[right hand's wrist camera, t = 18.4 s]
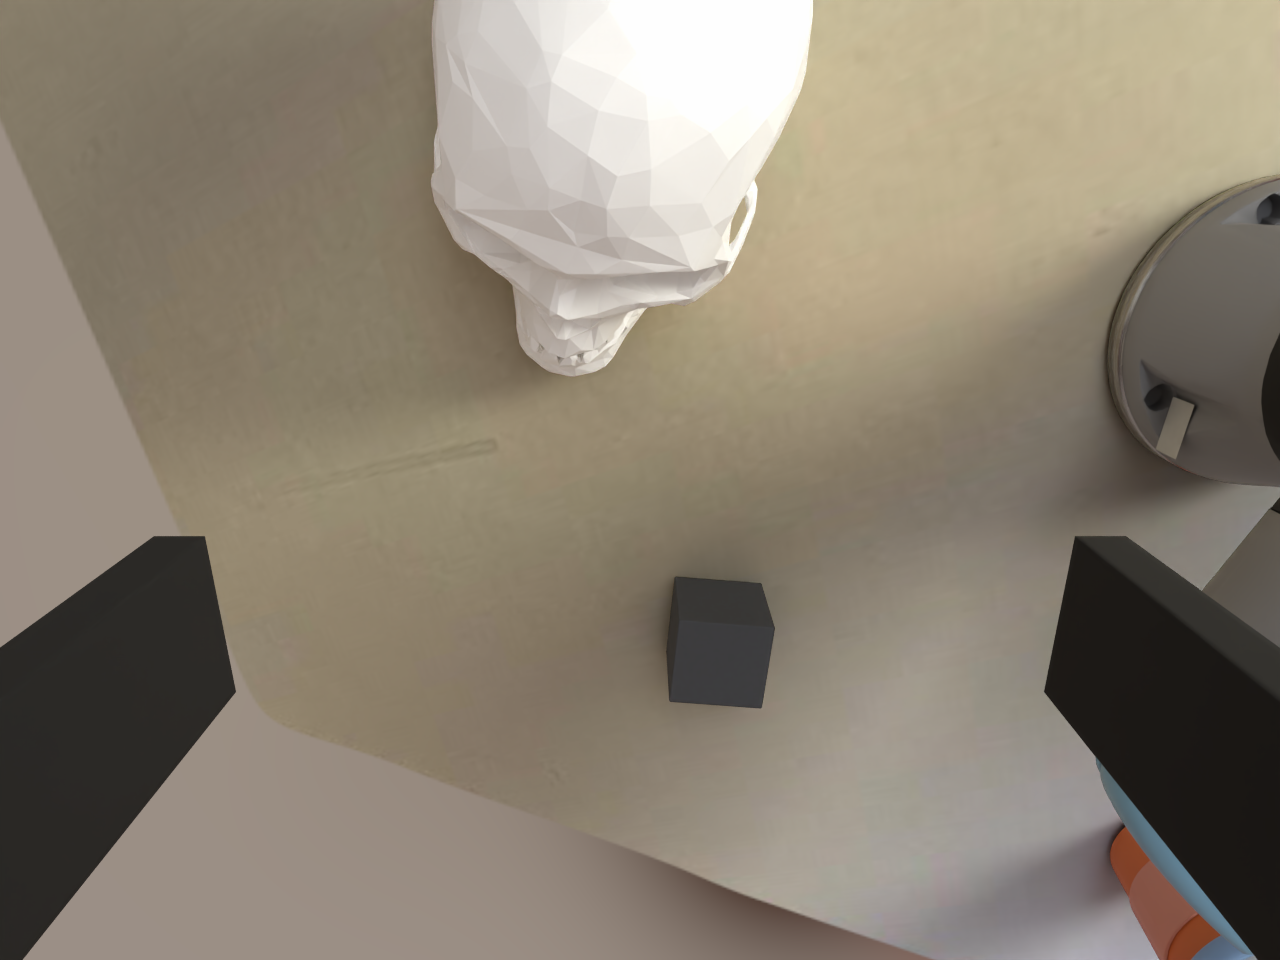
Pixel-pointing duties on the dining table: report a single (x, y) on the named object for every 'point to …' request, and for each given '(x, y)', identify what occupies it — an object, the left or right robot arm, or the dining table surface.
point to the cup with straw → (1165, 909)
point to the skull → (607, 151)
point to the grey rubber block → (718, 643)
